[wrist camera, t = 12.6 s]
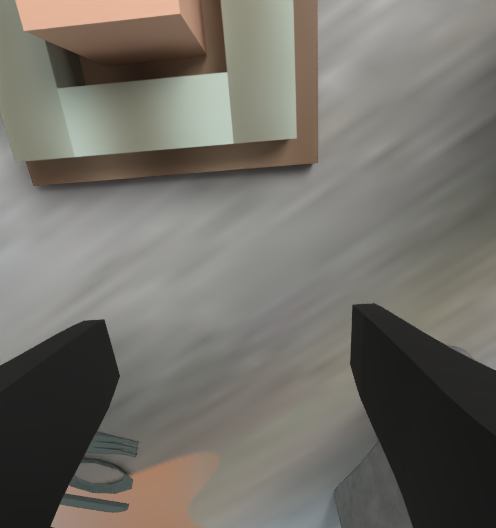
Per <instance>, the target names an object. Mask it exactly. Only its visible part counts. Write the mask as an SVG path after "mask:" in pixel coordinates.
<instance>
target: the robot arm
mask: <svg viewBox="0 0 496 528" xmlns="http://www.w3.org/2000/svg"><path fill="white" fill-rule="evenodd" d="M350 365H351V368H352V372H353V376H354V379H355V383H356V386H357V389H358V392H359V396H360V398H361V401H362V403H363V405H364V408H365V410H366V412H367V415H368V417H369V419H370V422H371V424H372V426H373V428H374V431H375V433H376V435H377V437H378V440H379V442H380V444H381V446H382V449H383V451H384V453H385V456H386V458H387V460H388V462H389V465H390V467H391V469H392V471H393V474H394V476H395V479H396V481H397V484H398V486H399V489H400V491H401V494H402V497H403V500H404V503H405V506H406V509H407V511H408V514H409V517H410V520H411V523H412V526H413V528H496V370H493V369H491V368H489V367H487V366H485V365H483V364H481V363H479V362H477V361H475V360H473V359H471V358H469V357H467V356H465V355H463V354H462V353H460V352H458V351H456V350H454V349H452V348H450V347H448V346H447V345H445V344H443V343H441V342H439V341H438V340H436V339H434V338H432V337H431V336H429V335H427V334H426V333H424V332H422V331H420V330H419V329H417V328H415V327H414V326H412V325H411V324H409V323H407V322H406V321H404V320H402V319H401V318H399V317H397V316H396V315H394V314H393V313H391V312H389V311H388V310H386V309H384V308H382V307H381V306H379V305H377V304H375V303H374V304H357V305H353V308H352V334H351V359H350ZM119 377H120V375H119V371H118V367H117V364H116V360H115V356H114V353H113V349H112V345H111V342H110V338H109V334H108V331H107V327H106V323H105V320H88V321H83V322H80V323H78V324H76V325H73V326H71V327H69V328H67V329H66V330H64V331H62V332H60V333H58V334H56V335H54V336H53V337H51V338H49V339H47V340H46V341H44V342H42V343H40V344H38V345H37V346H35V347H33V348H31V349H30V350H28V351H26V352H24V353H22V354H21V355H19V356H17V357H15V358H14V359H12V360H10V361H8V362H6V363H4V364H2V365H1V366H0V528H50V526H51V523H52V521H53V519H54V516H55V514H56V511H57V509H58V507H59V504H60V502H61V500H62V498H63V496H64V494H65V492H66V490H67V488H68V485H69V484H70V482H71V480H72V478H73V476H74V474H75V472H76V470H77V468H78V466H79V464H80V463H81V461H82V459H83V457H84V455H85V453H86V451H87V449H88V447H89V445H90V443H91V441H92V440H93V438H94V436H95V434H96V432H97V430H98V428H99V426H100V424H101V422H102V420H103V418H104V416H105V414H106V412H107V410H108V408H109V405H110V403H111V400H112V397H113V395H114V392H115V389H116V386H117V383H118V380H119Z"/></svg>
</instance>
